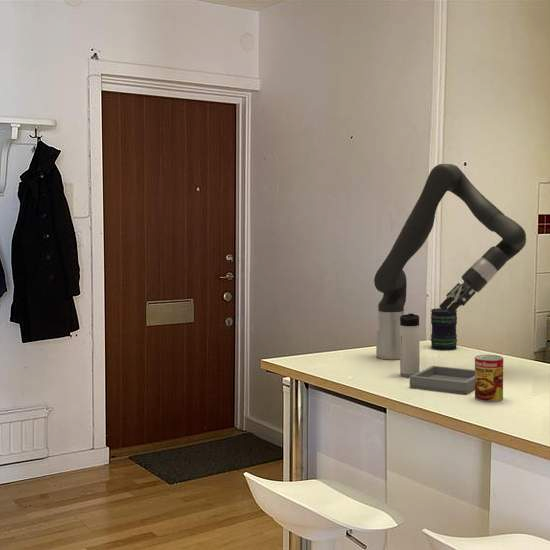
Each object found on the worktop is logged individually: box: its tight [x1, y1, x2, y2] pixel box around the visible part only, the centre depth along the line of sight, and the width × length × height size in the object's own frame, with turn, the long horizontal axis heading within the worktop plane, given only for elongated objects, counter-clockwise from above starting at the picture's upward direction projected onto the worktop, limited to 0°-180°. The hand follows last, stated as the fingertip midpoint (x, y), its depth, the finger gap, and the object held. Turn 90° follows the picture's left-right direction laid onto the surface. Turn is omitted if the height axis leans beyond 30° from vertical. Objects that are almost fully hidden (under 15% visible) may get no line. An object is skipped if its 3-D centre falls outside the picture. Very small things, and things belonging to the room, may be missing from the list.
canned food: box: [474, 354, 504, 403], centre depth 228 cm, size 8×8×12 cm
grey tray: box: [409, 365, 475, 395], centre depth 245 cm, size 18×18×4 cm
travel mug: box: [399, 313, 421, 378], centre depth 259 cm, size 6×7×20 cm
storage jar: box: [430, 307, 458, 352], centre depth 305 cm, size 10×10×15 cm
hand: (444, 310), depth 259 cm, fingers open, 8 cm apart
